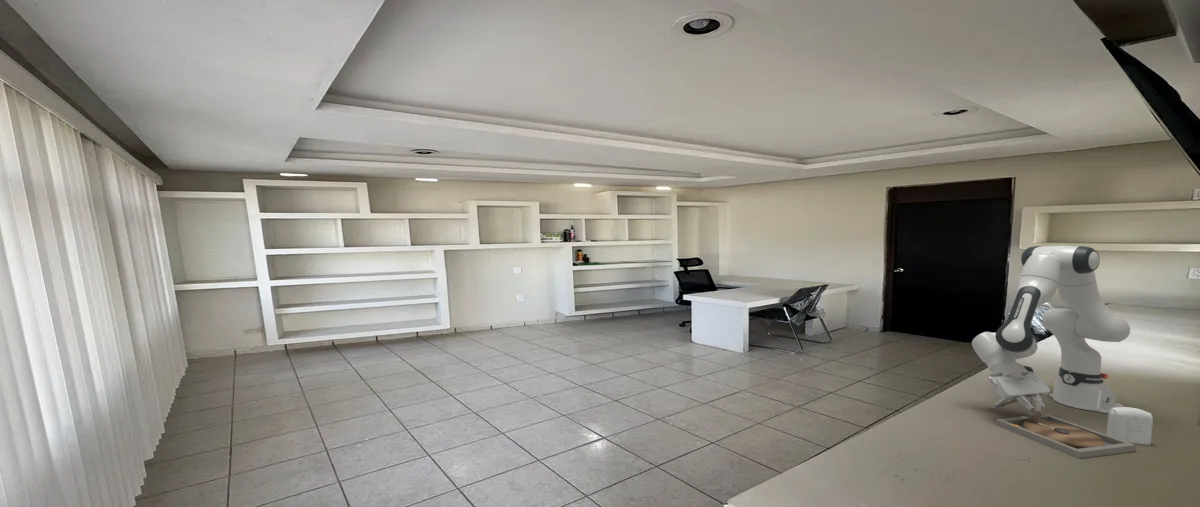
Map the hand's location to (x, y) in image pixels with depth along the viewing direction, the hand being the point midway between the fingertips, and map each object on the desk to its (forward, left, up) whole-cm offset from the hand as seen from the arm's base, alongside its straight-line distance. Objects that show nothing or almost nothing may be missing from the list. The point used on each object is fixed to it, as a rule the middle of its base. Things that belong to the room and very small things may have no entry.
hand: (1037, 408), depth 158 cm
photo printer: (-20, +13, -8) cm, 26 cm away
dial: (0, +7, -7) cm, 10 cm away
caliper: (-16, -22, -9) cm, 28 cm away
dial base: (0, +7, -8) cm, 11 cm away
